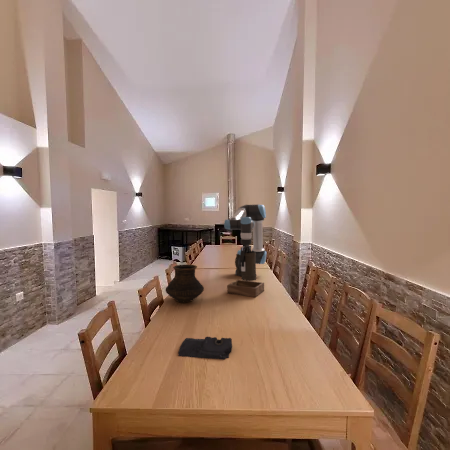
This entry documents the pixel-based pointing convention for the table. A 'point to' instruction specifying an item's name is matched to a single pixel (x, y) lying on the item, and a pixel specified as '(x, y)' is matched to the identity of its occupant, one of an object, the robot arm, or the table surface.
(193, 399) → the table surface
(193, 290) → the ceramic pot
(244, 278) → the beer stein
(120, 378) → the table surface
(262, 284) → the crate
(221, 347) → the dark grey flat piece
